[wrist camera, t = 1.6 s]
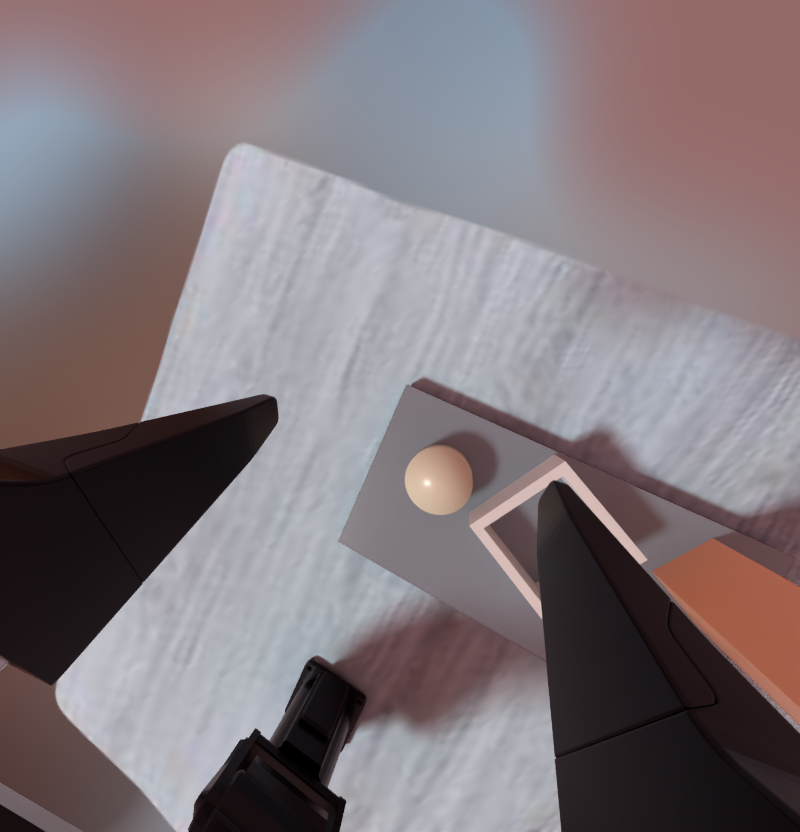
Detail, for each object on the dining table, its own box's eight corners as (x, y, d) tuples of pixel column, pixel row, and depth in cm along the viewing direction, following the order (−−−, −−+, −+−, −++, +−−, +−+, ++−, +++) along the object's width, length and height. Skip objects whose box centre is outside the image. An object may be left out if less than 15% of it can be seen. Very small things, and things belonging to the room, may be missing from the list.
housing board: (663, 720, 22) (700, 779, 19) (342, 536, 27) (324, 556, 23) (780, 550, 20) (845, 581, 16) (408, 385, 25) (399, 382, 21)
